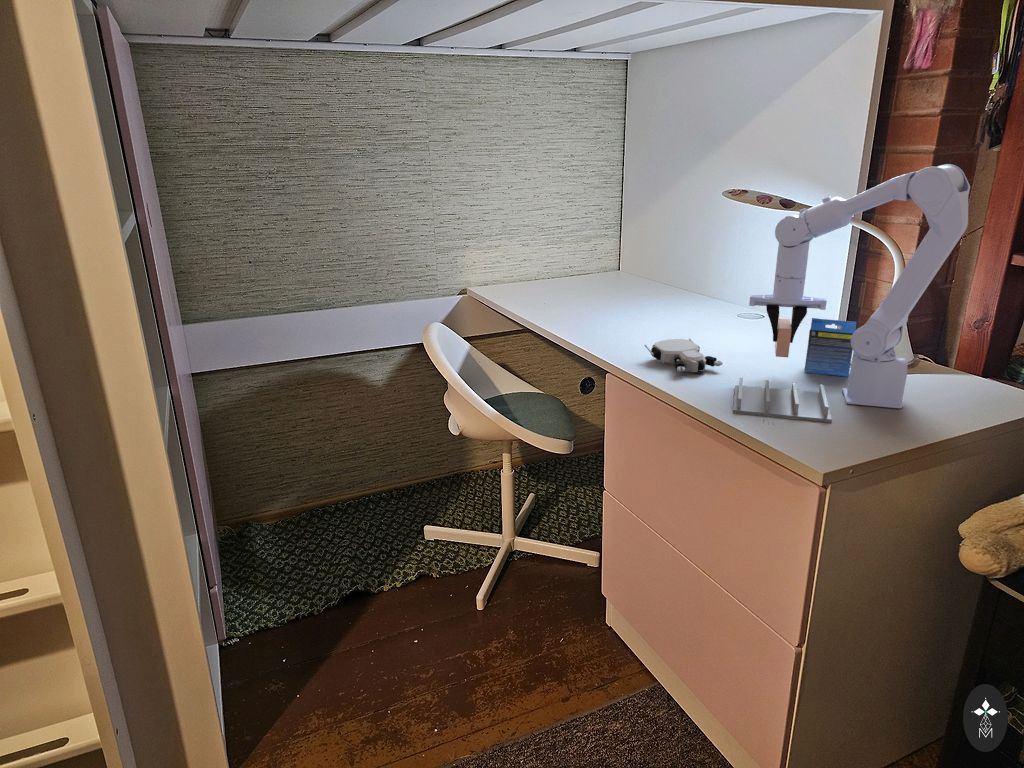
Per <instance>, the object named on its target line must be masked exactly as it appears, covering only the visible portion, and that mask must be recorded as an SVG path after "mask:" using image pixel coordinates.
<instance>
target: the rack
mask: <svg viewBox="0 0 1024 768" xmlns="http://www.w3.org/2000/svg"><path fill="white" fill-rule="evenodd" d="M743 379H744V378H743V377H739V383H738V385H737V384H736V385H735V384H734V385H735V386H734V395H733V406H732V407H733V408H732V413H733V414H737V415H738V414H740V415H748V416H749V415H751V416H759V417H769V418H782V419H791V420H802V421H811V422H813V421H814V422H821V423H832V422H833V418H832V415H831V411H830V407H829V403H828V399H827V394H826V391H825V387H824V384H819V389H818V391H809V390H807V391H806V390H798V388H797V383H796V382H793V381H792V384H791V389H784V388H772V387H771V388H770V380H769V379H766V380H765V383H764V384H765V385H764V387H761V386H751V385H750V386H749V385H743Z"/></svg>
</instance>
